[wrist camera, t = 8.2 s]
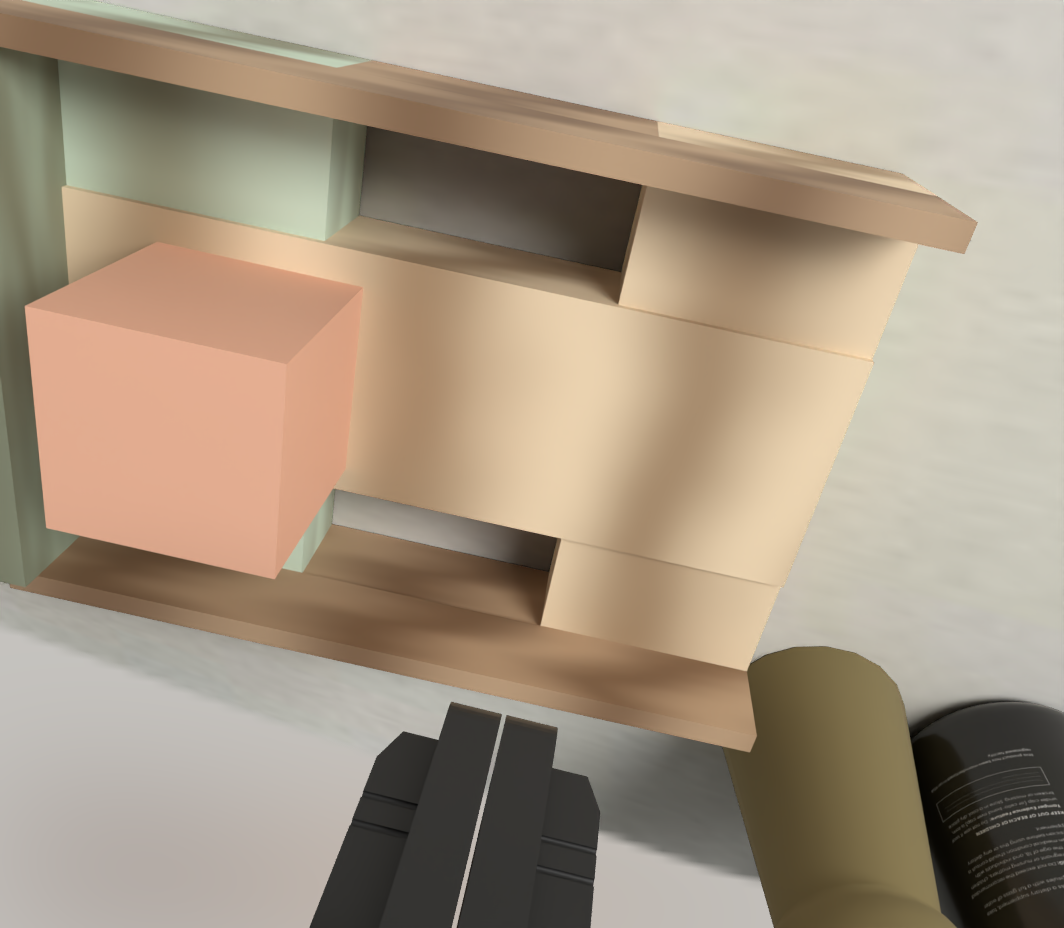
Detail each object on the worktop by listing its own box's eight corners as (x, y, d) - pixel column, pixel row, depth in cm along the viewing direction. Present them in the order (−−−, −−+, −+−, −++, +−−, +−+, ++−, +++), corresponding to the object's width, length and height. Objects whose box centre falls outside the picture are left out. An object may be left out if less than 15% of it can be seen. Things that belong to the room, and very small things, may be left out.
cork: (882, 792, 30) (995, 1166, 20) (705, 773, 31) (734, 1128, 21) (924, 655, 27) (1079, 1014, 18) (728, 637, 28) (775, 976, 18)
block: (363, 287, 20) (286, 364, 16) (345, 468, 23) (274, 579, 18) (157, 241, 21) (25, 306, 16) (160, 427, 23) (46, 528, 19)
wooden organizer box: (903, 173, 21) (987, 228, 16) (731, 625, 27) (752, 767, 22) (90, 0, 21) (-86, -2, 16) (116, 490, 28) (-3, 598, 23)
